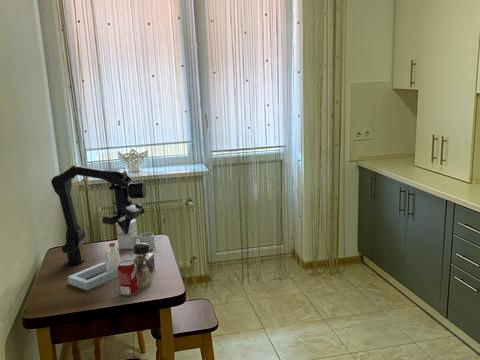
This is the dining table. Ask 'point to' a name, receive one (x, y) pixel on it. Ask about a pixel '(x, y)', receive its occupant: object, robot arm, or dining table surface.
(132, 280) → the soda can
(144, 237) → the mug
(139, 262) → the figurine
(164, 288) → the dining table surface
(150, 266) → the medicine bottle
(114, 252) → the white bottle
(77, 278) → the u rest
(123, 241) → the supplement box
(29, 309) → the dining table surface
